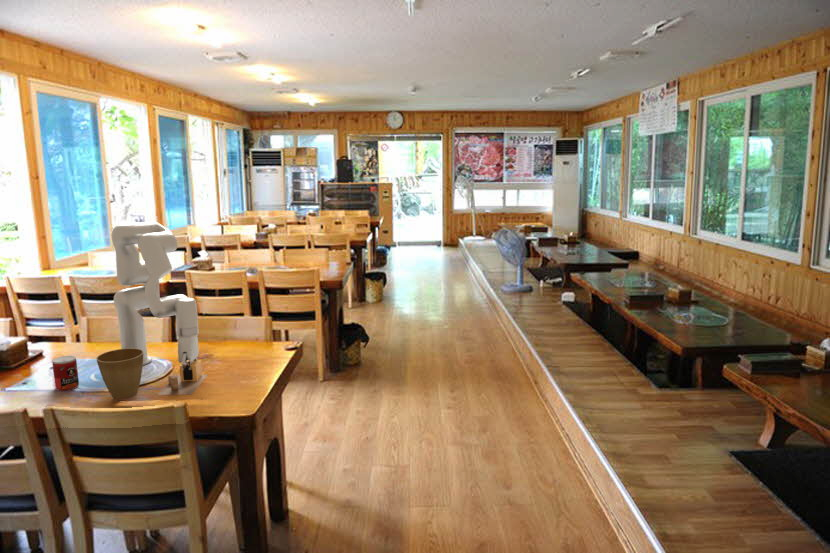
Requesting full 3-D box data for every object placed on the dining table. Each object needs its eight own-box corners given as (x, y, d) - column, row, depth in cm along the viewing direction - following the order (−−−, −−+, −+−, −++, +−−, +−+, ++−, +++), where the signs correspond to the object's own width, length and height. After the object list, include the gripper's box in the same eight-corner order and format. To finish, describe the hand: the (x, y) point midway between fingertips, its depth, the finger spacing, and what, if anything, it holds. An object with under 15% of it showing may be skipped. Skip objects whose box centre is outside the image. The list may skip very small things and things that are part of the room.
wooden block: (180, 381, 222) (179, 366, 221) (185, 375, 228) (184, 360, 226) (197, 381, 222) (195, 365, 221) (201, 375, 228) (200, 360, 227)
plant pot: (123, 387, 220) (118, 346, 217) (156, 392, 216) (152, 350, 213) (90, 403, 206) (85, 359, 203) (125, 407, 202) (121, 363, 199)
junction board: (157, 399, 209) (155, 383, 208) (176, 378, 229) (175, 364, 228) (191, 398, 210) (190, 382, 209) (208, 378, 229) (207, 363, 228)
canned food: (62, 392, 215) (59, 363, 213) (51, 388, 220) (47, 359, 218) (83, 385, 222) (80, 357, 220) (72, 381, 226) (68, 354, 224)
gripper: (185, 324, 230) (188, 369, 233) (169, 337, 213) (173, 385, 216) (204, 324, 230) (207, 368, 233) (190, 337, 213) (194, 384, 216)
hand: (191, 376), depth 225 cm, fingers closed on wooden block, 5 cm apart
